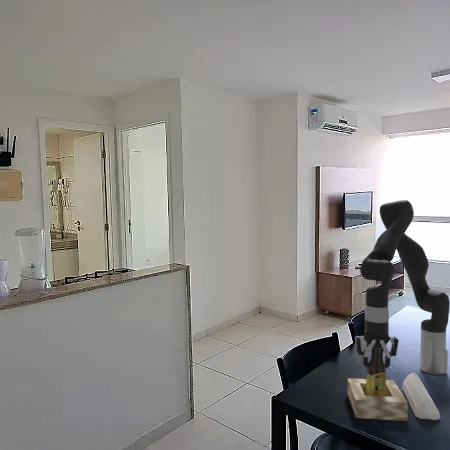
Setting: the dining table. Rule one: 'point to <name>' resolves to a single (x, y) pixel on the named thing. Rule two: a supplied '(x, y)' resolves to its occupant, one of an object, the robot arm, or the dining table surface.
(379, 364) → the sauce bottle
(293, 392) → the dining table surface
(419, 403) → the crystal
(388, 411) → the socket block
